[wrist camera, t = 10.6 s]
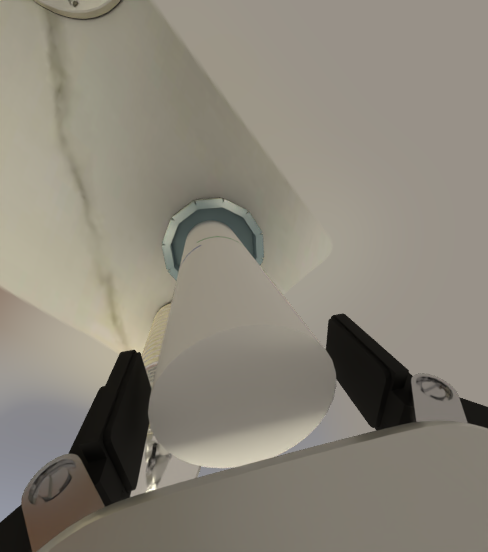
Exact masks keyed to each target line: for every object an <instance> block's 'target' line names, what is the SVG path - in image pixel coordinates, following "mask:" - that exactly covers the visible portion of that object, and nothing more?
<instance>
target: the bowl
mask: <svg viewBox="0 0 488 552" xmlns="http://www.w3.org/2000/svg"><path fill="white" fill-rule="evenodd" d="M208 220H214V221H219V222H221V223H224V224H225V225H227V226H228V227H229V228H230V229H231V230H232V231H233V232H234V234H235V235H236V236H237V237H238V239H239V240H240V241H241V242H242V244H243V245H244V246H245V248H246V249H247V250H248V251H249V253H250V254H251V255H252V256H253V258H254V259H255V260H256V262H257V263H258V264H259V265H261V263H262V261H263V258H264V248H263V234H262V231H261V230H260V228H259V226H258V225H257V223H256V222H255V220H254V219H253V217H252V215H251V214H250V212H248V210H246V209H244V208H242V207H240V206H238V205H236V204H234V203H232V202H230V201H228V200H226V199H223V198H208V199H196V202H195V201H192V202H191V203H190V204H188V205H187V206H186V207H184V208H183V209H182V210H180V211H179V212H178V213H176V214H175V215H174V216H173V217H172V219H171V220H170V223H169V225H168V228H167V231H166V233H165V236H164V239H163V241H162V250H163V254H164V259H165V264H166V269H167V270H168V272H169V273H170V275H171V276H172V277H173V278H174V279H175V280H176V281H177V277H178V272H179V268H180V264H181V259H182V255H183V251H184V246H185V242H186V238H187V235H188V233H189V232H190V230H191V229H192V228H193V227H194V226H196V225H197V224H199V223H201V222H204V221H208Z"/></svg>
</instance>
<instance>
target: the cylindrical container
mask: <svg viewBox="0 0 488 552" xmlns="http://www.w3.org/2000/svg"><path fill="white" fill-rule="evenodd" d="M335 389H336V371H335V368H334V364H333V361H332V359H331V357H330V356H329V354H328V352H327V351H326V349H325V348H324V347H323V345H322V344H321V343H320V342H319V341H318V339H317V338H316V337H315V335H314V334H313V333H312V331H311V330H310V329H309V328H308V327H307V325H306V324H305V323H304V321H303V320H302V319H301V318H300V316H299V315H298V314H297V312H296V311H295V310H294V309H293V307H292V306H291V305H290V303H289V302H288V301H287V300H286V298H285V297H284V296H283V295H282V293H281V292H280V291H279V290H278V288H277V287H276V286H275V284H274V283H273V282H272V281H271V279H270V278H269V277H268V276H267V274H266V273H265V272H264V270H263V269H262V268H261V267H260V265H259V264H258V263H257V262H256V260H255V259H254V258H253V256H252V255H251V254H250V253H249V251H248V250H247V249H246V248H245V246H244V245H243V244H242V242H241V241H240V240H239V239H238V237H237V236H236V235H235V234H234V232H233V231H232V230H231V229H230V228H229V227H228V226H227V225H225V224H224V223H221V222H219V221H214V220H208V221H204V222H201V223H199V224H197V225H196V226H194V227H193V228H192V229H191V230H190V232H189V233H188V235H187V238H186V242H185V246H184V251H183V255H182V259H181V264H180V268H179V272H178V277H177V281H176V285H175V290H174V294H173V299H172V303H171V308H170V312H169V316H168V321H167V325H166V329H165V334H164V338H163V342H162V347H161V351H160V355H159V360H158V364H157V368H156V373H155V377H154V382H153V386H152V390H151V395H150V400H149V409H148V417H149V422H150V428H151V430H152V432H153V434H154V436H155V438H156V440H157V441H158V442H159V443H160V444H161V445H162V447H163V448H164V449H165V450H166V451H168V452H169V453H171V454H172V455H174V456H175V457H177V458H178V459H181V460H183V461H185V462H188V463H190V464H194V465H199V466H203V467H212V468H231V467H239V466H242V465H246V464H250V463H254V462H257V461H261V460H265V459H269V458H273V457H275V456H277V455H279V454H281V453H283V452H285V451H287V450H288V449H290V448H292V447H293V446H295V445H296V444H298V443H299V442H300V441H302V440H303V439H304V438H305V437H307V436H308V435H309V434H310V433H311V432H312V431H313V430H314V429H315V428H316V427H317V426H318V424H319V423H320V422H321V420H322V419H323V418H324V416H325V415H326V413H327V412H328V410H329V407H330V405H331V403H332V401H333V398H334V394H335Z"/></svg>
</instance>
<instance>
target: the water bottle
mask: <svg viewBox="0 0 488 552" xmlns="http://www.w3.org/2000/svg"><path fill="white" fill-rule="evenodd" d="M170 308H171V303H169V304H167V305H165V306H163V307H162V308H161V309H160V310H159V311H158V312H157V314H156V316H155V318H154V320H153V323H152V326H151V329H150V332H149V335H148V338H147V341H146V344H145V347H144V350H143V353H142V359H143V362H144V366H145V369H146V372H147V375H148V379H149V382H150V385H151V388H152V386H153V382H154V377H155V373H156V368H157V364H158V360H159V355H160V351H161V347H162V342H163V338H164V334H165V329H166V325H167V321H168V316H169V312H170ZM200 468H201V466H199V465H194V464H190V463H188V462H185V461H183V460H181V459H178V458H177V457H175V456H174V455H172V454H171V453H169V452H168V451H166V450H165V449H164V448H163V447H162V445H161V444H160V443H159V442H158V441H157V440H156V438H155V436H154V434H153V432H152V430H151V428H150V422H149V427H148V432H147V437H146V443H145V448H144V453H143V458H142V463H141V468H140V473H139V478H138V483H137V487H136V489H135V490H133V491H131V495H130V497H133V496H136V495H138V494H142V493H145V492H149V491H152V490H155V489H159V488H162V487H166V486H169V485H173V484H176V483H180V482H183V481H187V480H190V479H194V478H197V476H198V474H199V472H200Z"/></svg>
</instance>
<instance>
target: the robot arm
mask: <svg viewBox="0 0 488 552" xmlns="http://www.w3.org/2000/svg"><path fill="white" fill-rule="evenodd" d="M34 1H35V2H37V3H38V4H39V5H41V6H43V7H45V8H47V9H49V10H51V11H52V12H54V13H57V14H60V15H63V16H67V17H70V18H80V19H87V18H93V17H98V16H100V15H102V14H104V13H107V12H109V11H110V10H111V9H112V8H113V7H115V6H116V5H117V4H118V3H119V1H120V0H34ZM77 4H78V6H77V7H75V6H76V5H77ZM326 351H327V352H328V354H329V356H330V357H331V359H332V361H333V364H334V368H335V371H336V379H337V380H338V382H339V383H340V385H341V386H342V388H343V389H344V390H345V392H346V393H347V394H348V396H349V397H350V399H351V400H352V401H353V403H354V404H355V406H356V407H357V408H358V410H359V411H360V413H361V414H362V415H363V417H364V418H365V420H366V421H367V422H368V424H369V425H370V426H371V427H373V428H375V429H376V430H377V431H373V432H369V433H366V434H361V435H358V436H353V437H349V438H345V439H342V440H338V441H334V442H330V443H326V444H322V445H318V446H314V447H311V448H307V449H303V450H299V451H296V452H292V453H288V454H284V455H281V456H277V457H273V458H269V459H265V460H261V461H257V462H254V463H250V464H246V465H242V466H239V467H235V468H231V469H228V470H224V471H220V472H216V473H213V474H209V475H206V476H202V477H198V478H194V479H190V480H187V481H183V482H180V483H176V484H173V485H169V486H166V487H162V488H159V489H155V490H152V491H149V492H145V493H142V494H138V495H136V496H133V497H130V495H131V491H133V490H135V489H136V487H137V483H138V478H139V473H140V468H141V463H142V458H143V453H144V448H145V443H146V437H147V432H148V427H149V417H148V409H149V400H150V395H151V390H152V388H151V385H150V382H149V379H148V375H147V372H146V369H145V366H144V362H143V359H142V356H141V353H140V352H138V353H137V352H136V351H135V350H130V351H125V352H121V353H120V354H119V357H118V359H117V361H116V363H115V366H114V368H113V370H112V372H111V374H110V376H109V379H108V381H107V384H106V385H105V386H103V387H101V388H100V389H99V391H98V393H97V395H96V397H95V399H94V401H93V403H92V406H91V408H90V410H89V412H88V414H87V416H86V418H85V420H84V422H83V425H82V426H81V429H80V431H79V433H78V435H77V437H76V439H75V441H74V443H73V446H72V447H71V450H70V452H69V454H66V455H62V456H60V457H57V458H55V459H54V460H52V461H50V462H49V463H47V464H46V465H45V466H44V467H42V468H41V469H40V470H39V471H38V472H37V473H36V474H35V475H34V477H33V478H32V479H31V480H30V482H29V483H28V485H27V487H26V488H25V490H24V493H23V495H22V502H21V505H20V506H19V507H18V508H17V509H15V511H13V512H12V513H11V514H10V515H8V516H7V517H6V518H5V519H4V520H3V521H2V522H0V552H488V407H486V406H483V405H480V404H477V403H474V402H471V401H468V400H466V399H463V398H460V397H459V395H458V393H457V392H456V390H455V389H454V388H453V387H452V386H451V385H450V384H448V383H447V382H446V381H444V380H442V379H440V378H438V377H436V376H433V375H430V374H424V373H422V374H416V375H414V376H412V375H411V374H410V373H409V370H408V369H406V368H405V367H404V366H403V365H402V364H401V363H399V361H397V360H396V359H395V358H394V357H393V356H392V355H391V354H389V353H388V352H387V351H386V350H385V349H384V348H383V347H381V346H380V345H379V344H378V343H377V342H376V341H375V340H374V339H372V338H371V337H370V336H369V335H368V334H367V333H365V332H364V331H363V330H362V329H361V328H360V327H359V326H358V325H357V324H355V323H354V322H353V321H352V320H351V319H350V318H348V317H347V316H346V315H345V314H338V315H333V316H332V317H331V319H329V323H328V333H327V344H326Z"/></svg>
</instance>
